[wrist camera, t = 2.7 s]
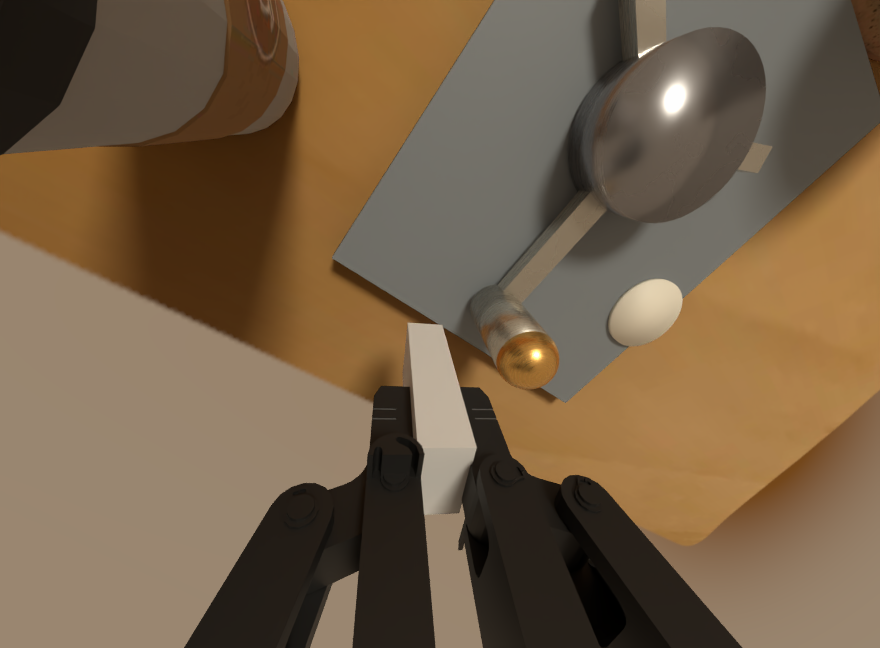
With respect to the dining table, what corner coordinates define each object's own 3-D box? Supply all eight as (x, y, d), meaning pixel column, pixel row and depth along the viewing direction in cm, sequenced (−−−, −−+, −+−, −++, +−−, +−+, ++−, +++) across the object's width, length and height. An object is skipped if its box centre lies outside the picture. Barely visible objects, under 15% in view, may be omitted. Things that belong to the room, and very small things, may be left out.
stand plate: (335, 251, 18) (331, 259, 17) (701, -329, 10) (746, -397, 9) (566, 397, 26) (575, 410, 25) (862, 131, 19) (897, 130, 17)
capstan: (630, -56, 12) (875, -266, 6) (749, 154, 17) (957, 157, 11) (397, 267, 17) (400, 334, 11) (538, 362, 22) (597, 445, 16)
